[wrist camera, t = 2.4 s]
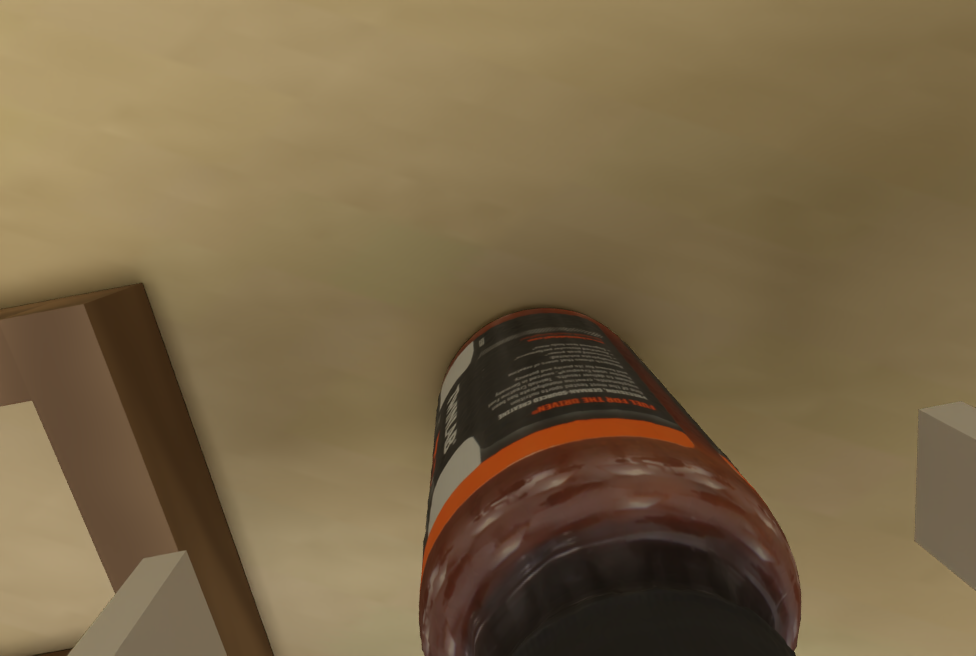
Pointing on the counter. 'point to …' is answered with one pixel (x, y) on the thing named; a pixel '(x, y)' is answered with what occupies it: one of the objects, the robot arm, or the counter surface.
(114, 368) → the wooden frame
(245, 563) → the counter surface
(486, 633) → the supplement bottle
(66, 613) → the counter surface
